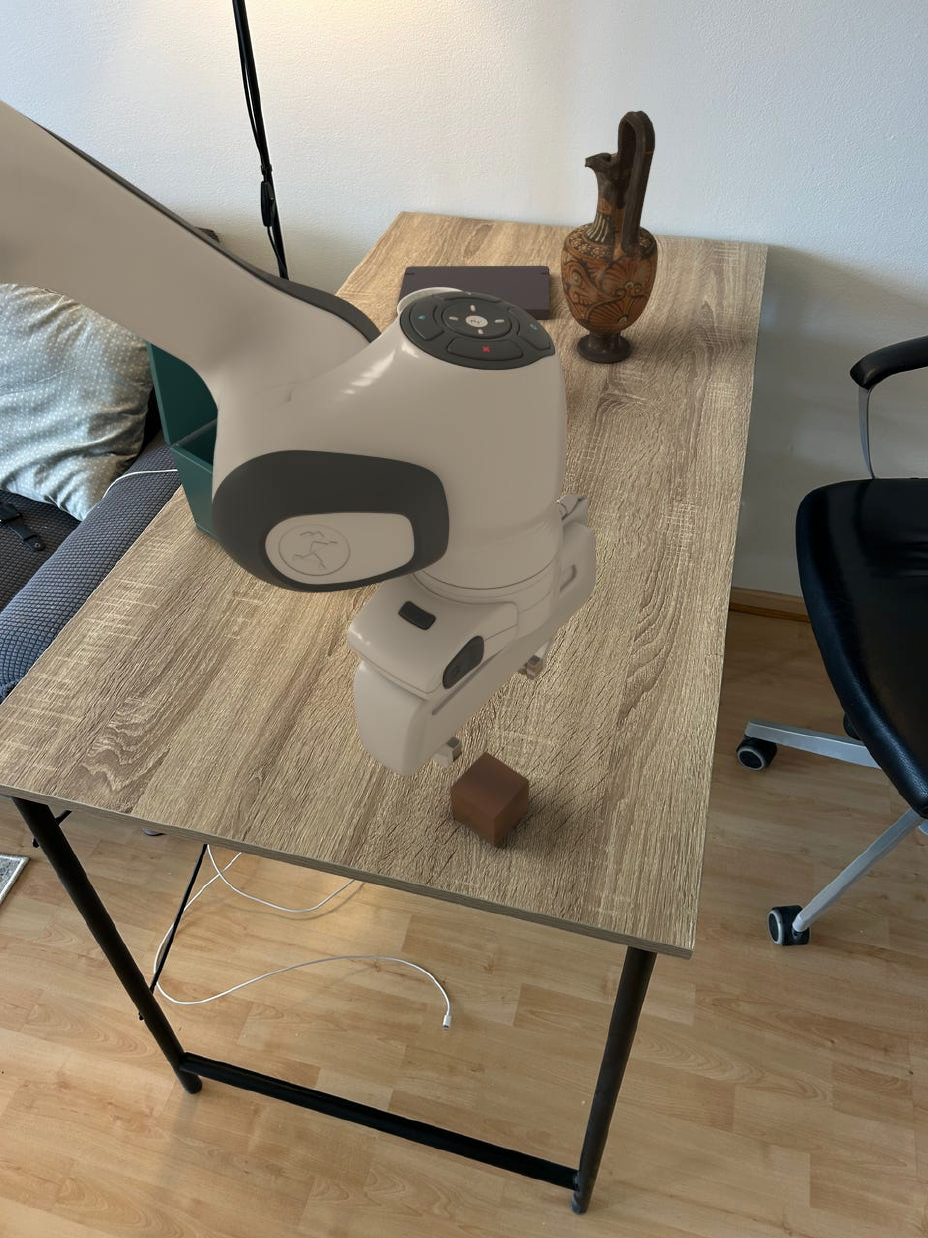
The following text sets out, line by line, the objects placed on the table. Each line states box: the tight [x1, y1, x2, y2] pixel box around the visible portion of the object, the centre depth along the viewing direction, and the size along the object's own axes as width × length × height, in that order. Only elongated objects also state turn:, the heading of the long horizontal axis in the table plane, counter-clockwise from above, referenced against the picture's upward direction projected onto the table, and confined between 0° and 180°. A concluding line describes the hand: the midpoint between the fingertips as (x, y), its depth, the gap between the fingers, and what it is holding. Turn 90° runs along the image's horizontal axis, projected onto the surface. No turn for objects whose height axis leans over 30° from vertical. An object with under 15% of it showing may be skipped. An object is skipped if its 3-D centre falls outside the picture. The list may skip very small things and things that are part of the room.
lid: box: [144, 339, 218, 447], centre depth 87 cm, size 14×12×5 cm
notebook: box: [395, 265, 551, 320], centre depth 129 cm, size 13×2×21 cm
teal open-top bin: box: [169, 418, 219, 543], centre depth 93 cm, size 14×12×11 cm
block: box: [449, 750, 530, 848], centre depth 71 cm, size 4×4×4 cm
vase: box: [560, 110, 659, 364], centre depth 107 cm, size 12×12×30 cm
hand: (489, 711), depth 62 cm, fingers open, 8 cm apart
